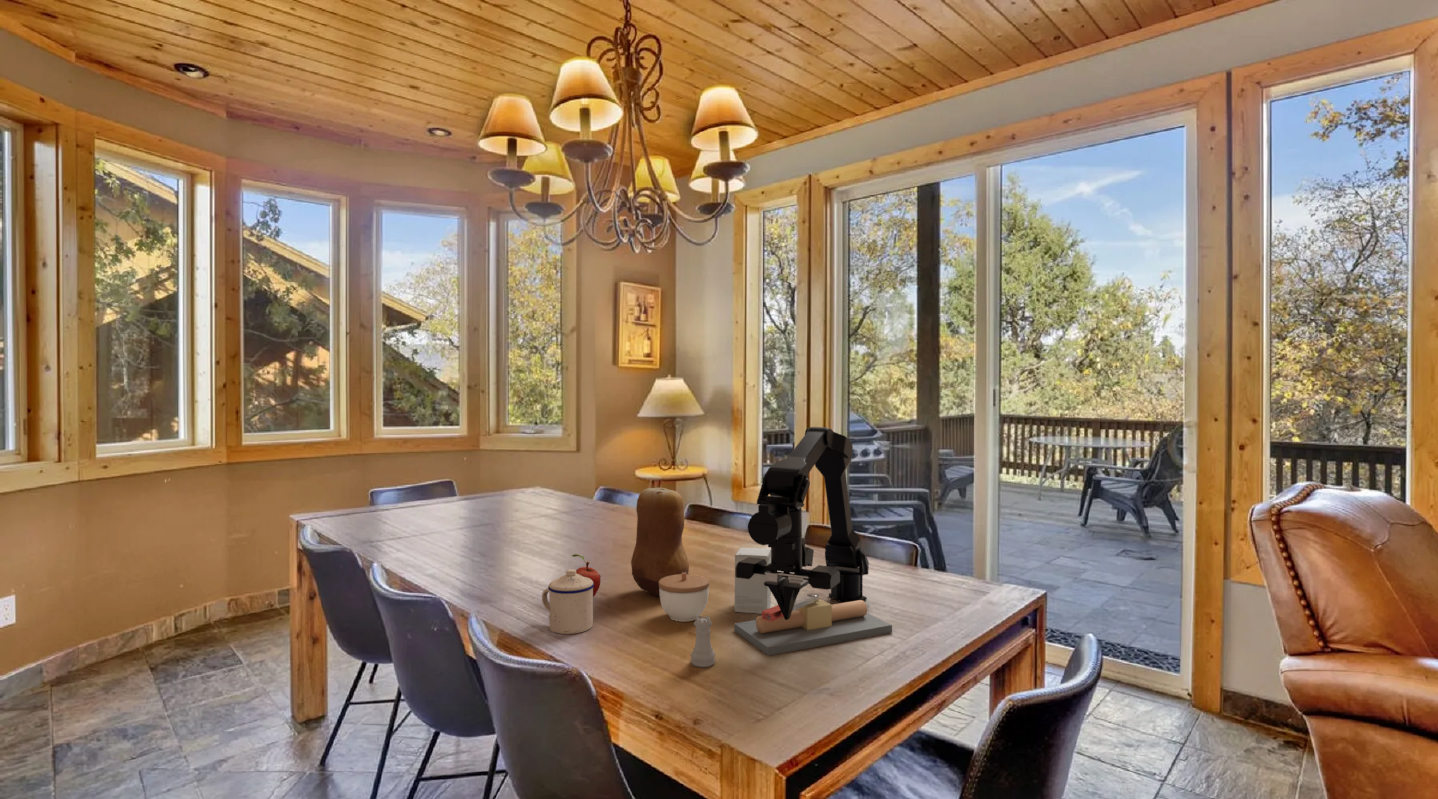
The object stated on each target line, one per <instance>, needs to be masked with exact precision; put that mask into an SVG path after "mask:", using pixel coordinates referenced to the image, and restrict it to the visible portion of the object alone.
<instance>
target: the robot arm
mask: <svg viewBox="0 0 1438 799" xmlns="http://www.w3.org/2000/svg"><path fill="white" fill-rule="evenodd" d="M853 448H854V447H853V442H852V441H851V440H850V439H849V438H848V437H847V436H846V435H844V434H843V435H842V434H840V433H838V432H835V431H833V430H832V428H829V427H825V426H824V427H822V426H821V427H820V426H810V427H807V428H805V431H804V436H803V437H802V438H801V439H800V441H799V442H798V443H797V445H796V446H795V447H794V448H793V450H792V452H791V453H790V454H789V455H788V457H786V458H783V459H780V460H777V461H776V462H774V463H773V464H772V465H770V466H769V468H768V469H767V471H766V472H765V473H764V477H763V480H762V482H761V486H760V490H759V493H758V497H757V499H756V505H758V507H757V508H758V509H757V510H758V512H755V513H754V514H753V515H751V517H750V518H749V521H748V523H747V531H748V535H749V537H750V538H751V539H752V540H753V542H755V543H756V544H758V545H761V546H767V548H770V549H771V563H770V564H768V565H767V562H766V560H765V559H762V558H753V557H748V558H746V559H744V560H742V561H740V562H738V563H737V565H736V568H735V567H734V578H735V577H737V578H743V579H750V578H751V577H752V576H753V575H754V573H755V574H763V575H766V582H764V586H768V587H769V589H770V591H771V595H772V596H773V597H774V599H775V601H776V603H777V605H779V608H780V610H781V612H782V614H783V616H784V619H785V620H788V619H789V618H790V616H791V613H792V610H793V607H794V604H795V601H796V599H798V596H799V593H800V592H801V589H803V588H805V587H806V586H808V585H809V586H810V587H811V588H813V589H819V590H827V591H828V590H830V592H829V593H828V596H829V597H830V598H833V599H834V600H837V601H838V602H840V603H845V602H851V601H858V600H863V601H865V600H868V598H867V597H866V596H864V595H863V592H864V591H863V590H864V589H863V585H864V584H863V576H865V575H866V576H867V575H869V568H870V566H869V564H870V563H869V559H868V556H867V555H866V551H865V549H864V548H863V544H862V539H861V538H860V536H859V535H858V534H857V533H856V531H854V528H853V525H852V515H851V508H850V501H849V500H850V499H849V490H848V483H847V474H846V472H847V469H848V467H849V466H850V463H851V461H852V457H853V453H854V452H853ZM814 467H815V468H816V470H817V471H819V473H820V474H821V475H822V476H823V480H824V486H825V495H826V501H827V510H828V517H829V518H828V519H829V524H830V525H829V526H830V531H831V532H830V533H831V534H830V537H829V539H828V540H827V543H826V544H825V547H824V549H825V551H824V558H825V560H824V561H825V564H826V565H823V564H822V565H821V564H818V565H817V566H815V567H813V561H814V552H815V549H813V548H812V547H811V548H810V547H809V546H806V541H805V538H804V537H803V516H802V514H803V513H802V512H803V511H802V509H803V508H802V507H804V506H805V503H804V502H805V499H806V496H807V493H808V491H809V488H810V485H811V481H810V477H809V474H810V472H811V471H812V469H813V468H814ZM803 567H804V568H803ZM805 567H806V568H805ZM807 567H813V568H812V569H807Z"/></svg>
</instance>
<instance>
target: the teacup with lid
mask: <svg viewBox="0 0 1438 799" xmlns="http://www.w3.org/2000/svg"><path fill="white" fill-rule="evenodd" d="M576 570H577V569H573V568H571V569H567V570H566V571H565V574H563V575H561V576H560V577H559V578H555V579H553V580H551V581H550V582H549V584H548V587H547V588H545V589H544V590H543V591H542V592H541V602H542V605H543V607H544V609H546V611H547V612H549V630H550V631H551V632H553V633H556V634H560V635H574V634H581V633H584V632H586V631H588V630H590V629H591V628H592V627H593V625H594V597H593V587H594V583H593V581H592V580H591V579H590V578H587V577H583V576H581V575H579V574H576ZM548 593H549V596H548ZM548 597H549V600H548Z"/></svg>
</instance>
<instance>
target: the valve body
mask: <svg viewBox="0 0 1438 799" xmlns="http://www.w3.org/2000/svg"><path fill="white" fill-rule="evenodd" d="M867 606H868V605H867V604H866V603H865V600H858V601H851V602H845V603H842V602H840V603H833V604H831V603H829V602H827V601H825V600H823V599H822V598H819V601H818V602H813V603H811V604H809V605H806V606H804V607H801V608H799V609H796V610H794V611H792V613H791V616H790V618H789V619H788V620H785V619H784V617H781V618H779V619H776V620H774V621H772V622H771V621H767V620H764V619H762V615H758V616H756V618H755V619H753V620H747V621H739V622H735V623H733V624H734V626H733V628H734V632H735V633H736V634H738V635H739V636H740V637H742V638H744V639H745V640H746V641H747V642H749V643H750V644H751V645H753V646H754V647H756V648H757V649H759V650H760V652H761V651H762V652H763V654H765V655H766V656H769V657H770V656H774V655H775V656H776V655H778V654H779V655H781V654H784V653H790V652H795V651H799V650H805V649H806V650H807V649H812V648H817V647H821V646H827V645H833V644H837V643H842V642H843V643H844V642H849V641H853V640H854V641H855V640H861V639H864V638H869V637H875V636H881V635H885V634H891V633H890V632H892V633H893V624H891V623H889V622H888V621H885V620H883V619H881V618H879V617H877V616H875V615H872V614H870V613H868V607H867Z"/></svg>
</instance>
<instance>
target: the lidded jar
mask: <svg viewBox="0 0 1438 799" xmlns="http://www.w3.org/2000/svg"><path fill="white" fill-rule="evenodd" d="M709 589H710V580H709V578H708V577H705V576H702V575H700V574H689V573H688V574H686V573H682V574H677V575H671V576H667V577H664V578H662V579H660V580H659V594H660V596H659V600H660V605H661V608H662V610H663V611H664V612H665V614H666V615H668V617H669V618H670V620H672V621H674V620H675V621H674V622H678V621H679V622H681V623H687V622H692V621H696V617H699V618H700V616H701V615H702V614H703V612H704V610H705V609H706V608H707V607H706V606H707V605H708V601H709V592H710V590H709ZM679 622H678V623H679Z"/></svg>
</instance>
